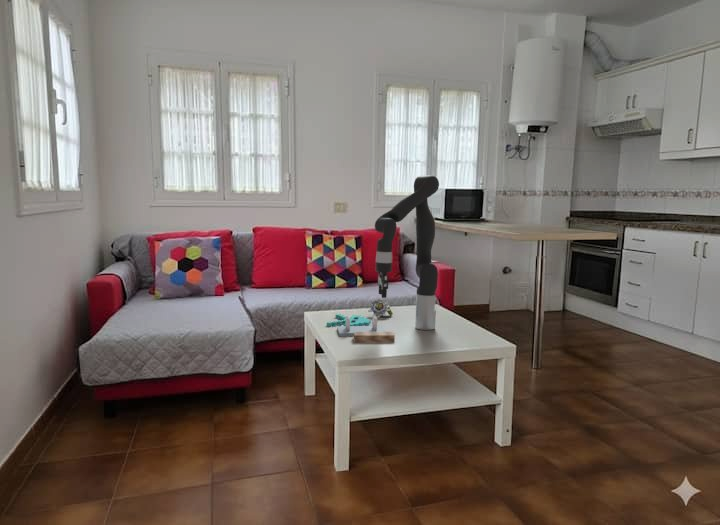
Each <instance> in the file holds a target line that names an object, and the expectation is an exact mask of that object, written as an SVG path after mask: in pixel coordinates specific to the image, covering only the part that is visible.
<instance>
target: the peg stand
mask: <svg viewBox="0 0 720 525" xmlns="http://www.w3.org/2000/svg"><path fill="white" fill-rule="evenodd" d="M345 317H346V326H344V325H337V326H336V330H337V333H338V336H339V337H354V332H387V331H386V330H385V328H384V327H383V326H382V325H378V318H377V316H374V315H372V320H371V322H372V324H371V325H369V326H350V316H349V315H346V316H345Z"/></svg>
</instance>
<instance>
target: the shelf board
mask: <svg viewBox="0 0 720 525" xmlns="http://www.w3.org/2000/svg"><path fill="white" fill-rule="evenodd" d="M395 337H396V336H395V334H394V332H393V331H386V332H354V336H353V341H354V343H395V339H396V338H395Z"/></svg>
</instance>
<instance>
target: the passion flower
mask: <svg viewBox="0 0 720 525" xmlns="http://www.w3.org/2000/svg"><path fill="white" fill-rule="evenodd" d="M382 299H383V298H382V297H381V298H378V299H377V300H375V301H374V300H373V301H371V305H370V307H371V308H370V309H369V310H368V313H372V312H373V316H376V318H377V317H378V318H377V319H380V317H381V316H383V317H386V313H387V314H388V315H389V318H390V317H392V316H393V315H394V314H393V311H392V310H391V307H390V305H389V301H388V300H386V301H383V300H382Z"/></svg>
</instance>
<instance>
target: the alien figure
mask: <svg viewBox="0 0 720 525" xmlns="http://www.w3.org/2000/svg"><path fill="white" fill-rule="evenodd" d="M349 318H350V326H364V325H367V326H370V324H371V322H372V320H371V319H369V318H368V317H365V316H361V315H360V314H359V315H357V314H352V315H351V316H349ZM335 319H338V320H332V321H327V322H326V327H328V328H329V327H337V326H346V316H345V315H344V314H341V313H336V314H335ZM342 320H343V321H342Z"/></svg>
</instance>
